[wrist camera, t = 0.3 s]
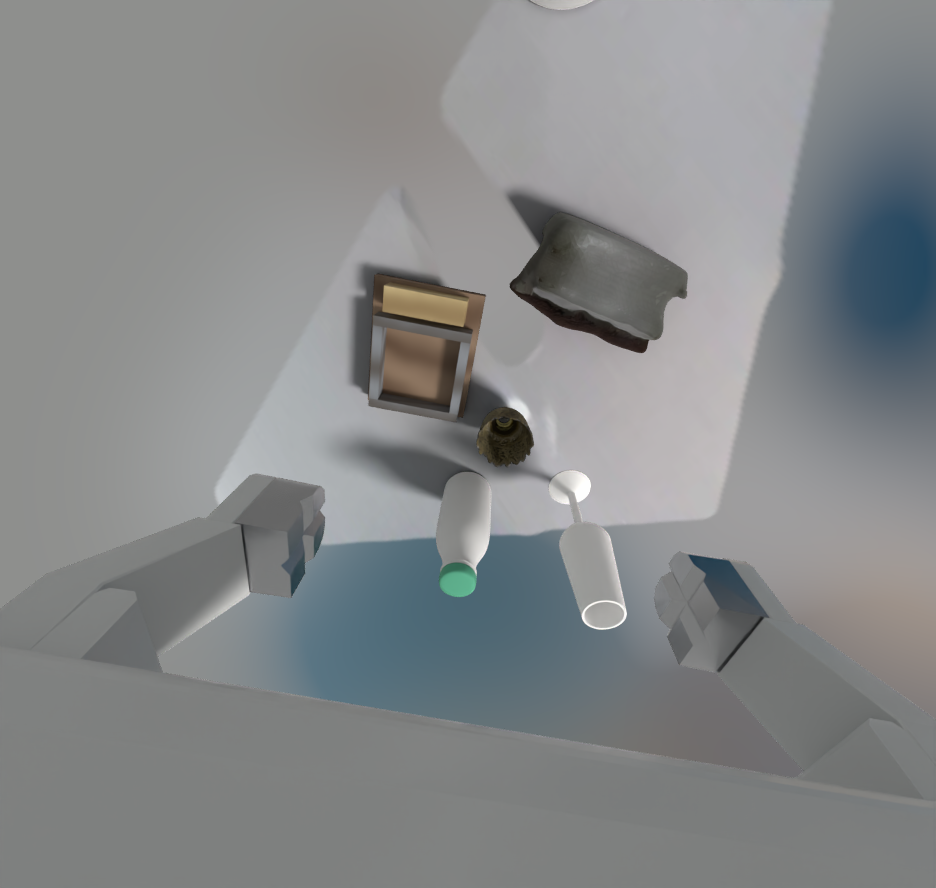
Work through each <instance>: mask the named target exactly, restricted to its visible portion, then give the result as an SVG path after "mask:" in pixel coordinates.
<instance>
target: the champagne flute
mask: <svg viewBox="0 0 936 888" xmlns="http://www.w3.org/2000/svg"><path fill="white" fill-rule="evenodd" d="M590 487H591V484H590V481H589V479H588V477H587V476H586V475H585V474H583V473H581V472H579V471H574V470H568V471H563V472H561V473H559V474H557V475H556V476H554V477H553V479H552V480H551V482H550V484H549V493H550V495H551V497H552V498H553V499H554V500H555V501H557V502H559V503H562V504H570V506H571V510H572V514H573V518H574V522H575V523H574V524H572V525H571V526H569V527H568V528H567V529H566V530H565V531H564V533H563V534H562V536H561V538H560V543H559V548H560V551H561V555H562V558H563V561H564V564H565V567H566V570H567V573H568V576H569V579H570V582H571V585H572V588H573V591H574V595H575V598H576V601H577V604H578V607H579V610H580V613H581V616H582V619H583V621H584V623H586V624H587V625H588V626H590V627H592V628H595V629H610V628H614V627H616V626H618V625H620V624H621V623H622V622H623V621H624V620H625V618H626V615H627V613H626V608H625V603H624V599H623V594H622V589H621V585H620V580H619V576H618V571H617V567H616V562H615V557H614V553H613V548H612V543H611V539H610V537H609V534H608V533H607V532H606V531H605V530H604V529H603V528H602V527H600V526H599V525H597V524H594V523H591V522H583V520H582V516H581V513H580V509H579V506H578V502H580V501H581V500H583V499H584V498H585V497H586V496H587V495H588V493H589V492H590Z"/></svg>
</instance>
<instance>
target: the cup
mask: <svg viewBox="0 0 936 888" xmlns="http://www.w3.org/2000/svg"><path fill="white" fill-rule="evenodd" d="M502 417H504V418H508V419H509V421H508V422H507V423H501V422H500V421H499V418H502ZM533 446H534V441H533V435H532V432H531V431H530V428H529V426H528V424H527V422H526V420H525V418H524V417H523V416H522V414H520V413H519V412H518V411H517V410H515V409H512V408H508V407H502V408H497V409H495V410H493V411H491V412H490V413H489V414H488V415H487V416H486V417H485V419H484V420H483V423H482V425H481V428H480V431H479V433H478V437H477V447H478V449H479V454H480V455H481V454H484V456H485V457H487V459H488V462H489V463H493V464H494V465H495V466H496V467H500V466H502V465H503V464H505V466H506V467H509V466H510V464H511V462H512V463H513V464H516V465H518V464H519V462H520V461H521V462H523V461H524V460H525V458H526V454H527V455H530V449H531V448H532V447H533Z"/></svg>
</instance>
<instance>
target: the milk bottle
mask: <svg viewBox="0 0 936 888" xmlns="http://www.w3.org/2000/svg"><path fill="white" fill-rule="evenodd" d="M490 520H491V488H490V485H489V483H488V482H487V481H486V479H485V478H484V477H482V476H481V475H479V474H477V473H473V472H461V473H458V474H455V475H454V476H452V477H451V478H450V479H449V480H448V481H447V483H446V486H445V489H444V494H443V498H442V503H441V508H440V513H439V519H438V524H437V531H436V544H437V548H438V551H439V554H440V556H441V558H442V561H443V565H442V567H441V570H440V576H439V585H440V588H441V589H442V590H443V591H444V592H445V593H446V594H448V595H451V596H455V597H463V596H467V595H469V594H470V593H472V592H473V591H474V589H475V586H476V575H477V571H476V566H477V564H478V562H479V561H480V560H481V558H482V557H483V556H484V554H485V552H486V550H487V547H488V543H489V537H490Z"/></svg>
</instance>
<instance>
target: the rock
mask: <svg viewBox="0 0 936 888" xmlns="http://www.w3.org/2000/svg"><path fill="white" fill-rule="evenodd" d="M542 234H543V236H544V238H543V241H542V243H541V245H540V247H539V249H538V250H537V252H536V253H535V254H534V255H533V257H532V258H531V259H530V260H529V262H528V263H527V265H526V266H525V268H524V269H523V271H522V272H521V273H520V274H519V276H518V277H517V278H515V279H514V280H513V281H512V282H511V283H510V288H511V290H512V291H513V292H514V293H515V294H516V295H518V297H520V298H521V299H523V300H525V301H526V302H528V303H529V304H531V305H532V306H534V307H535V308H536V309H537V310H539V311H540V312H541V313H543V314H544V315H546V316H547V317H548V318H550V319H551V320H552V321H553V322H554V323H556V324H557V325H559V326H562V327H565V328H568V329H572V330H578V331H583V332H587V333H590V334H594V335H596V336H598V337H600V338H601V339H603V340H605V341H606V342H608V343H610V344H613V345H616V346H618V347H621V348H625V349H628V350H631V351H634V352H638V353H644V352H645V351H646V349H647V345H648V341H649V340H657V339H659V338H660V337H661V335H662V332H663V318H664V310H665V307H666V305H667V303H668V301H669V300H670V299H672V298H673V297H680V298H682V299H685V298H686V296H687V291H686V289H687V279H688V276H687V272H686V271H685V270H683V269H682V268H680V267H679V266H677V265H676V264H674V263H673V262H671V261H669V260H668V259H666V258H664V257H662V256H661V255H659V254H657V253H655V252H653V251H651V250H649V249H647V248H645V247H643V246H641V245H639V244H636V243H634V242H632V241H630V240H628V239H626V238H623V237H621V236H619V235H617V234H614V233H612V232H610V231H608V230H606V229H603V228H601V227H599V226H597V225H594V224H592V223H589V222H587V221H585V220H582V219H580V218H577V217H574V216H571V215H568V214H565V213H562V212H559V213H557V214H555V215H554V216H553V217H552V218H551V219H550V220H549V221H548V222H547V223H546V225H545V227H544V229H543V232H542Z"/></svg>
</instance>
